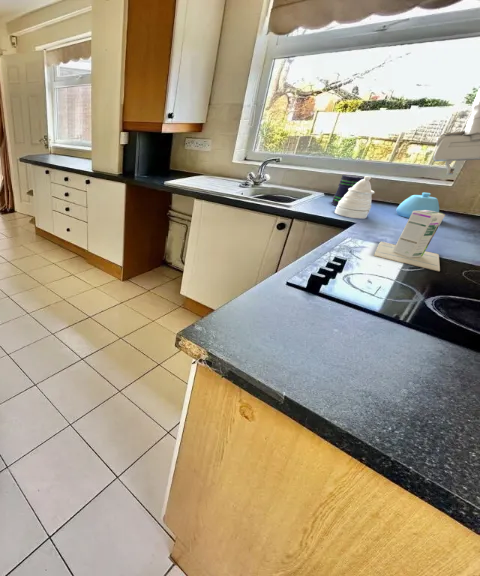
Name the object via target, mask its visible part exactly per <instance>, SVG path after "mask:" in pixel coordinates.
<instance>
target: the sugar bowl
mask: <svg viewBox="0 0 480 576" xmlns="http://www.w3.org/2000/svg"><path fill="white" fill-rule="evenodd" d="M431 195H432V193H430V192H421V194H413V195H410V196H409V197H407V198H406V199H404V200H403V201H402V202H401V203H399V205H398V206H397V208H396V213H397V215H398V216H400V217H403V218H407V219H409V218H410V216H411V214H412V212H413V211H421V210H429V211H435V212H439V213H440V204H439V203H440V202H439V199H438V198H437V197H434V196H431Z"/></svg>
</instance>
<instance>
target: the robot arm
mask: <svg viewBox="0 0 480 576" xmlns="http://www.w3.org/2000/svg"><path fill="white" fill-rule="evenodd" d="M435 146H436V149H435V151H434V154H433V157H432V160H433V161H434V162H445V164H444V165H445V167H446V170H447V171H446V174H445V175H447V176H448V175H454V171H455V168H452V167H451V165H452V163H453V162H459V161H480V88H479V89H478V91H477V93H476V95H475V98H474V101H473V104H472V107H471V114H470V116H469V118H468V120H467V122H466V126H465V128H464V130H463V131H454V132H451V131H450V132H445V133H443V134H440V135H439V136H438V137H437V139H436V142H435Z"/></svg>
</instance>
